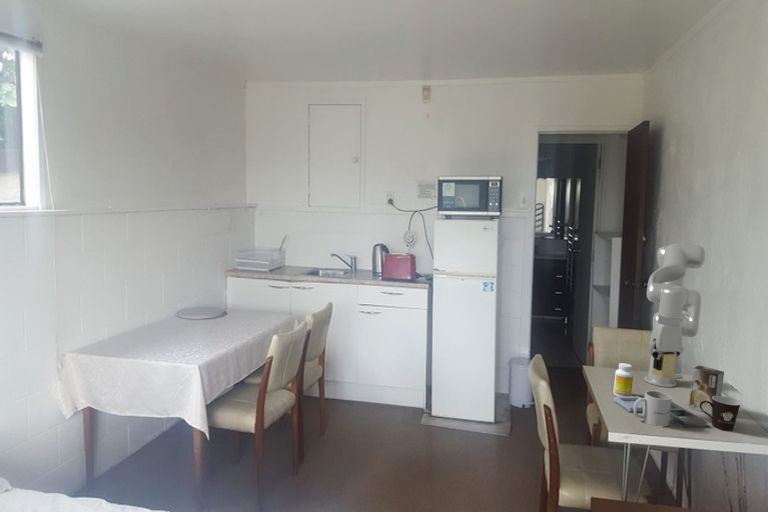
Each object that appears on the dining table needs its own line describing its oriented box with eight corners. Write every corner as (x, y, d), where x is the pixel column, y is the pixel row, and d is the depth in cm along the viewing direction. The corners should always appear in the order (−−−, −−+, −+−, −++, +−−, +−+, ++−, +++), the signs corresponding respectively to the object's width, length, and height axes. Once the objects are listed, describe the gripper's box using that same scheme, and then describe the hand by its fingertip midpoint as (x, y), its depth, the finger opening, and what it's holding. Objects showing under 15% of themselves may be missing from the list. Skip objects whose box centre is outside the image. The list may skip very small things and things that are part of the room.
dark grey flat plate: (665, 402, 215) (665, 397, 215) (706, 427, 194) (706, 421, 193) (644, 403, 214) (644, 398, 213) (683, 427, 192) (684, 421, 192)
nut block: (664, 372, 206) (666, 349, 205) (674, 377, 201) (677, 354, 200) (651, 373, 205) (654, 349, 204) (661, 378, 200) (664, 354, 199)
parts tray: (638, 400, 216) (638, 396, 216) (656, 411, 205) (656, 407, 205) (612, 400, 214) (613, 396, 214) (629, 412, 203) (630, 407, 203)
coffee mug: (738, 427, 195) (742, 400, 193) (734, 434, 188) (738, 407, 187) (702, 417, 202) (705, 391, 201) (696, 424, 196) (700, 397, 195)
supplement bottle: (632, 399, 217) (636, 368, 215) (614, 397, 218) (618, 366, 217) (628, 393, 223) (632, 363, 222) (611, 391, 225) (614, 361, 223)
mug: (664, 418, 199) (667, 392, 198) (671, 428, 191) (675, 401, 190) (628, 414, 202) (631, 388, 200) (634, 423, 193) (637, 396, 192)
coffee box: (720, 412, 209) (725, 371, 207) (713, 415, 205) (719, 374, 203) (694, 404, 216) (699, 364, 214) (687, 407, 212) (692, 367, 210)
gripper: (681, 318, 206) (675, 365, 208) (641, 318, 202) (636, 366, 204) (696, 323, 198) (690, 372, 201) (655, 323, 195) (649, 372, 197)
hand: (663, 368), depth 203 cm, fingers closed on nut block, 5 cm apart
